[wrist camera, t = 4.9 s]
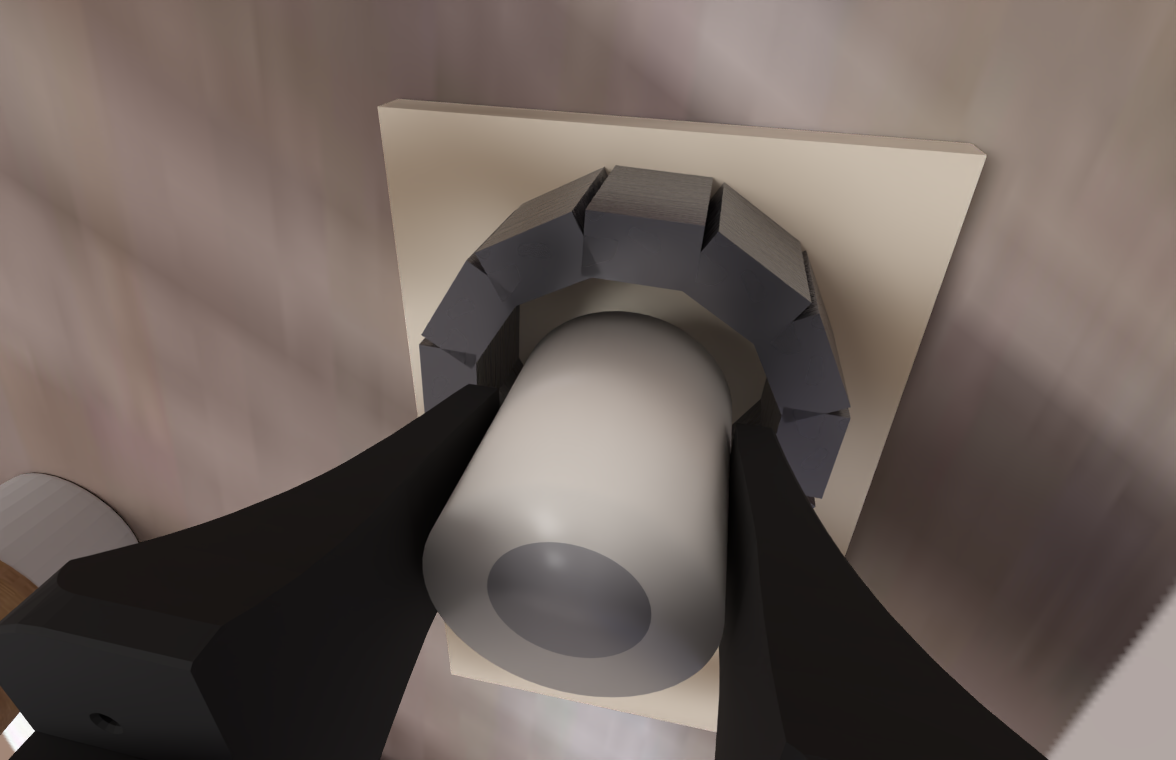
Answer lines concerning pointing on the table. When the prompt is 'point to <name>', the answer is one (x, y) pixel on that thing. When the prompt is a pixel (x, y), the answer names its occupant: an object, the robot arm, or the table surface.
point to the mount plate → (767, 180)
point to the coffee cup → (47, 540)
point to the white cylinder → (595, 514)
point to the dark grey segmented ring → (665, 260)
